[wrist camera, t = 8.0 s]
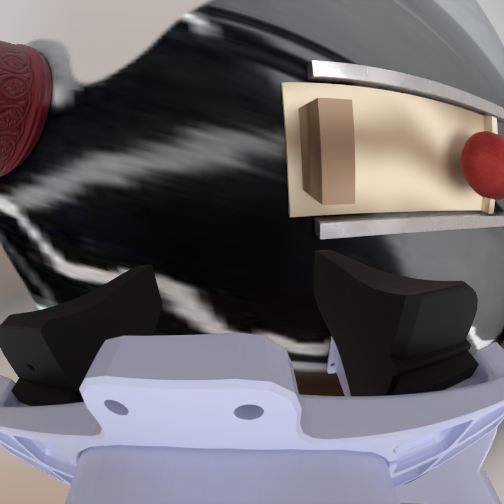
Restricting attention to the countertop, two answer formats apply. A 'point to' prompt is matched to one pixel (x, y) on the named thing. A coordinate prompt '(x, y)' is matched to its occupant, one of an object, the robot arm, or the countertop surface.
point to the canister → (21, 102)
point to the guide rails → (401, 221)
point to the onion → (484, 164)
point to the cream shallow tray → (376, 151)
